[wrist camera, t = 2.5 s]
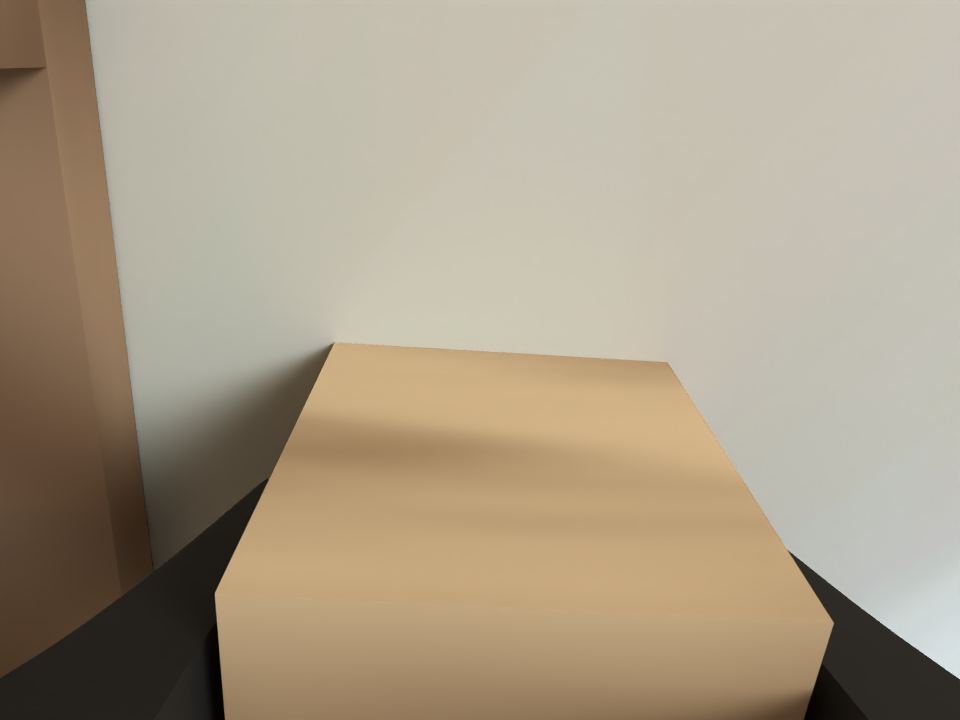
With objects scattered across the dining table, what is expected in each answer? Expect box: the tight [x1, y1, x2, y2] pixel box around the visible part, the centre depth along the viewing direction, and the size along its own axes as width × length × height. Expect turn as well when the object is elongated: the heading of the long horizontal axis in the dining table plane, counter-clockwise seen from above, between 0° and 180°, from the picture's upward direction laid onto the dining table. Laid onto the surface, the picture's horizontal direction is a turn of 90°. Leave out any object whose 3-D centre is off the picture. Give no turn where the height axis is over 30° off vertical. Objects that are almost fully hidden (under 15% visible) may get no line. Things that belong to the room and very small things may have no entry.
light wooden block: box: [215, 343, 834, 720], centre depth 9 cm, size 4×4×5 cm
